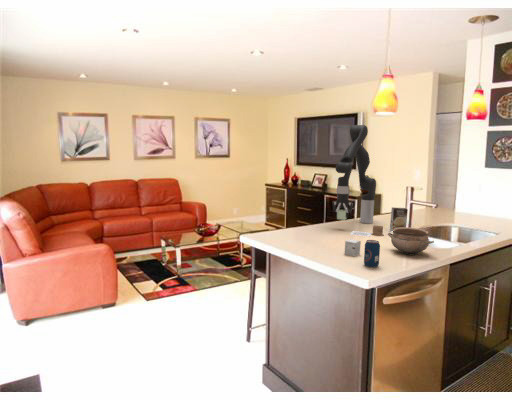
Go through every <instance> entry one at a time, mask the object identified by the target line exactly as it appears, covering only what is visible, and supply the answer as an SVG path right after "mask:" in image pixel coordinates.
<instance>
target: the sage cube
mask: <svg viewBox="0 0 512 400" xmlns="http://www.w3.org/2000/svg"><path fill="white" fill-rule="evenodd" d="M347 219H348V217H347V218H346V210H345V209H339V210H338V211H337V216H336V220H343V221H345V220H347Z"/></svg>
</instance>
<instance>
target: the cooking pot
mask: <svg viewBox="0 0 512 400" xmlns="http://www.w3.org/2000/svg"><path fill="white" fill-rule="evenodd" d="M393 230H394V232H388V233H387V236H388V237H389V238H391V240H390V241H391V245H392V246H393V247H394V248H395V249H397V250H398V251H400V253H402V254H403V255H409V254H414V255H417V254H419V253H421V252H424V251H425V250H427V248H428V247H429V244H430V245H431V244H433V243H435V240H430V239H429V236H428V234H429V231H428V230H425V229H422V228H421V229H420V228H418V227H417V228H416V227H407V226H406V227H400V228H394V229H393Z"/></svg>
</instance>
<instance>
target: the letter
mask: <svg viewBox="0 0 512 400" xmlns="http://www.w3.org/2000/svg"><path fill="white" fill-rule="evenodd" d="M371 234H373V232H368V231H367V232H366V231H358V230H352V231H351V232H350V233H349V234H348V235H349V236H350V235H351V236H360V237H368V238H369V237H371V236H372V235H371Z"/></svg>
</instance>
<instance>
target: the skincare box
mask: <svg viewBox="0 0 512 400" xmlns="http://www.w3.org/2000/svg"><path fill="white" fill-rule="evenodd" d="M361 242H362V241H361V240H357V239H353V238H352V239H351V238H350V239H347V240H345V241H344V243H345V244H344V255H347V256H349V257H357V256H359V255H360V254H361V244H362V243H361Z"/></svg>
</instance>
